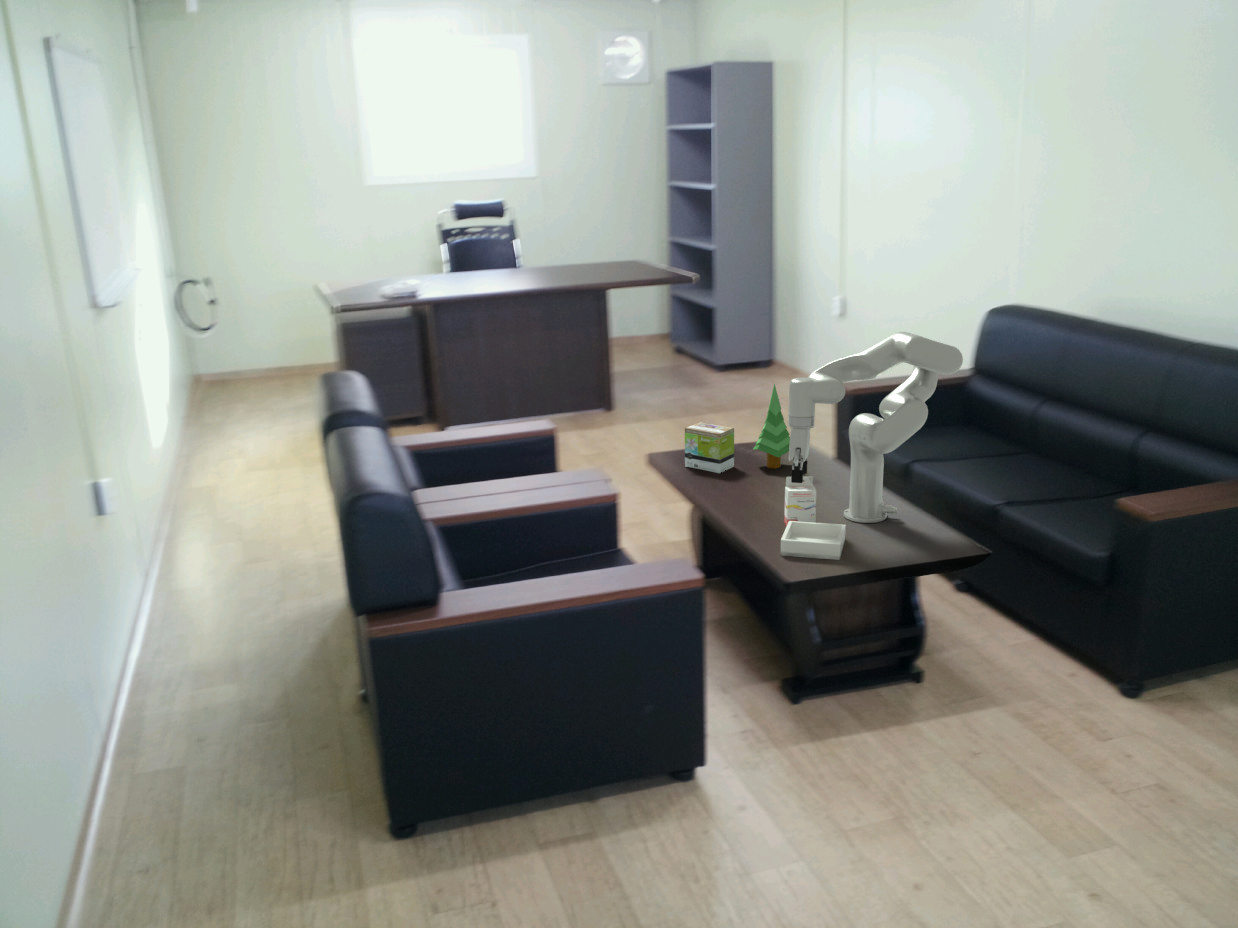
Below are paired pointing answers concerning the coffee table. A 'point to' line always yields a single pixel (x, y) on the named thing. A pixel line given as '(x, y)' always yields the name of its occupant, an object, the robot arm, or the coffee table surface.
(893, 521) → the coffee table surface
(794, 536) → the box
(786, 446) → the decorative tree
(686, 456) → the tea box
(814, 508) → the ink cartridge box
